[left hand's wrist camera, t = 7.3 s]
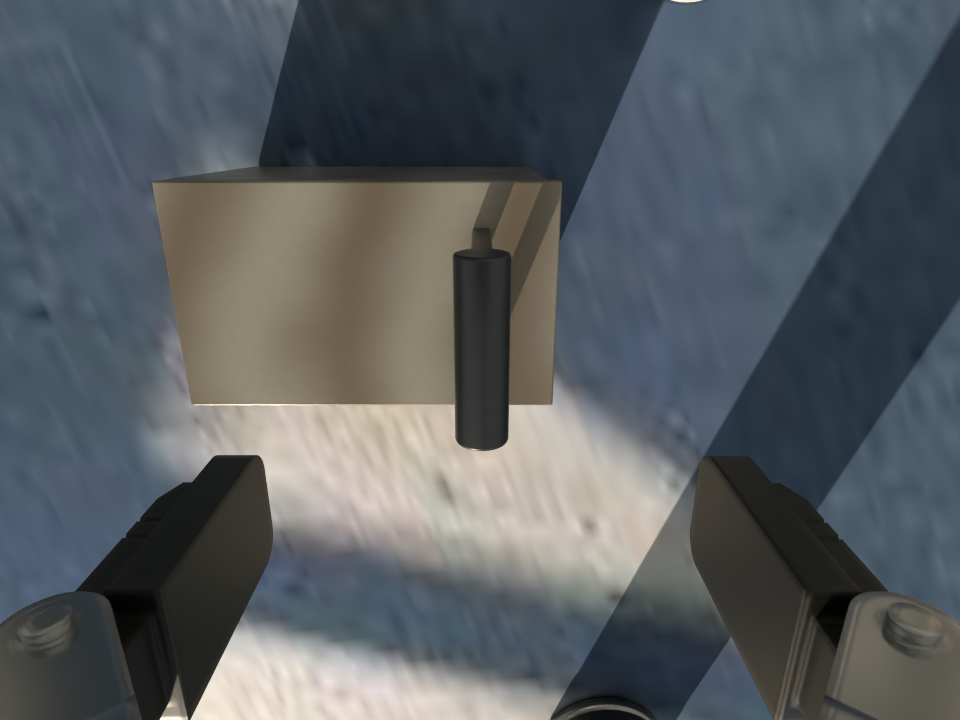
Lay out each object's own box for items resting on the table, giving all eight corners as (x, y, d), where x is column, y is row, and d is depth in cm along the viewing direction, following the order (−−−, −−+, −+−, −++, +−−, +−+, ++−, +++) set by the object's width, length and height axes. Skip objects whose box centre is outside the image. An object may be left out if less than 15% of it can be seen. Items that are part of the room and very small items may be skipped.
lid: (559, 179, 24) (595, 199, 17) (549, 395, 27) (576, 495, 20) (164, 179, 24) (20, 199, 16) (201, 396, 27) (95, 496, 20)
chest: (527, 166, 34) (547, 179, 24) (523, 326, 37) (539, 395, 27) (255, 166, 34) (164, 179, 24) (275, 326, 37) (201, 395, 27)
